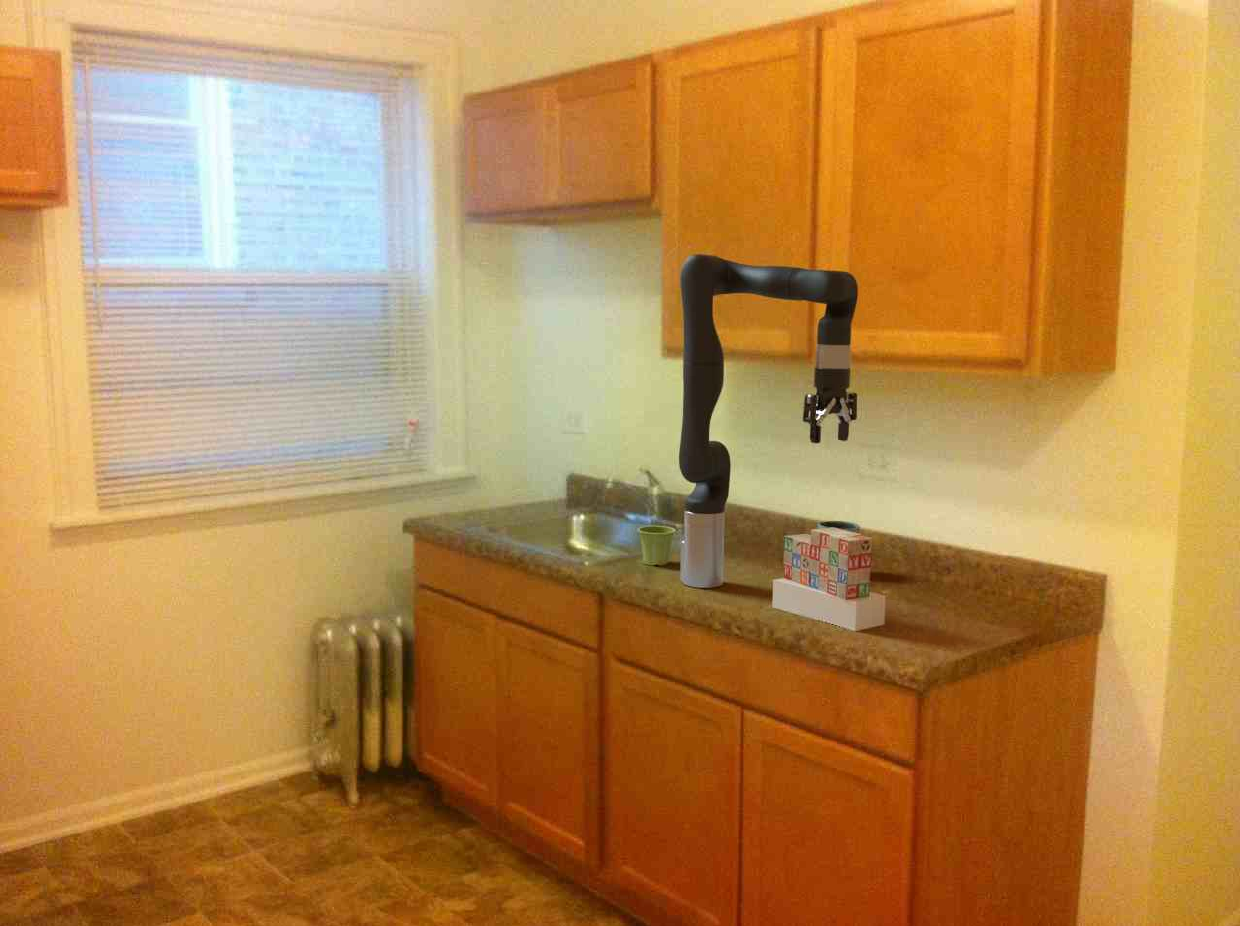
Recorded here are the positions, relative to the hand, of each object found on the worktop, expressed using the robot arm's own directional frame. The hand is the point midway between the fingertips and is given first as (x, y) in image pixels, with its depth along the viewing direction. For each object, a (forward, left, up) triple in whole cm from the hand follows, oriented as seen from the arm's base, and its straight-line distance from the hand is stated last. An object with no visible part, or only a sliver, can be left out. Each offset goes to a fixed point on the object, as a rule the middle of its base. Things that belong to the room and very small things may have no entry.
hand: (829, 441), depth 251 cm
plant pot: (-51, -5, -36) cm, 63 cm away
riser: (+8, -7, -36) cm, 37 cm away
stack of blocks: (+7, -7, -30) cm, 31 cm away
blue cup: (-18, +25, -36) cm, 48 cm away
